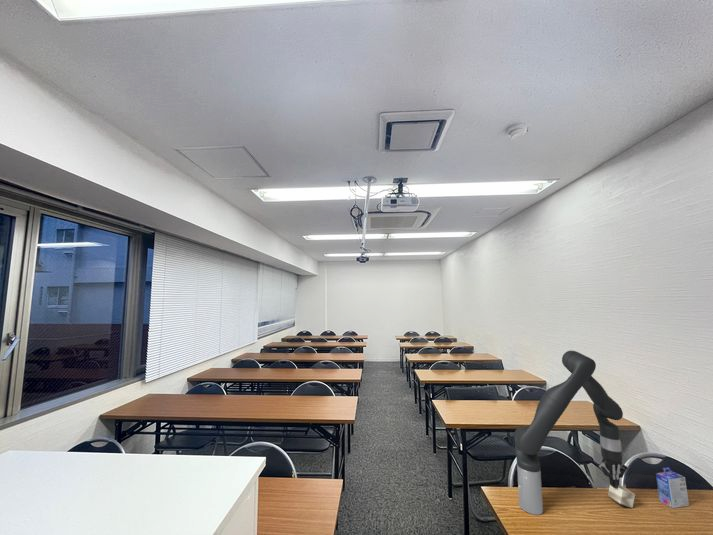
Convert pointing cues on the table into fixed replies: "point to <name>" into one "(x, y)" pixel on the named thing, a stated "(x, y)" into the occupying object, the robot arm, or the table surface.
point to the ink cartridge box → (672, 489)
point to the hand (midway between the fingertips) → (614, 486)
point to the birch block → (622, 496)
